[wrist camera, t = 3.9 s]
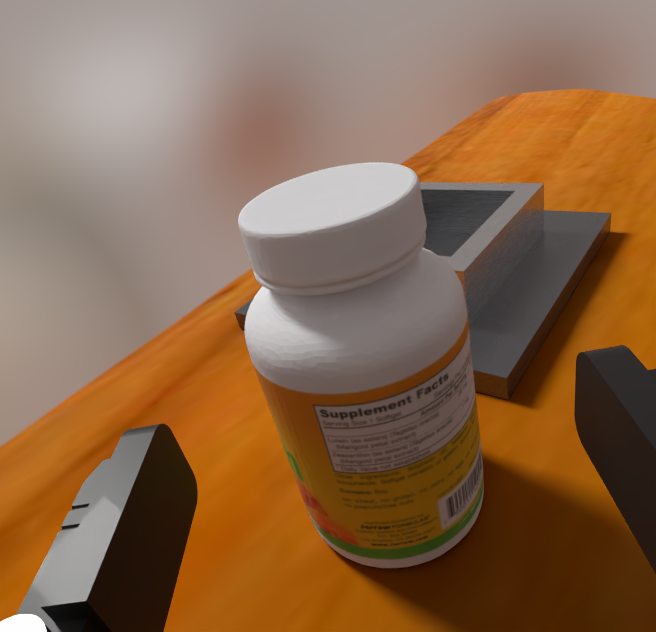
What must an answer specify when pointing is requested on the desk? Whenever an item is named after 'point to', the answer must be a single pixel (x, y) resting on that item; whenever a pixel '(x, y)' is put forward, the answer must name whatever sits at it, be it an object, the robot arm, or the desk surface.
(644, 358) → the desk surface
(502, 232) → the socket plate
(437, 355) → the supplement bottle
